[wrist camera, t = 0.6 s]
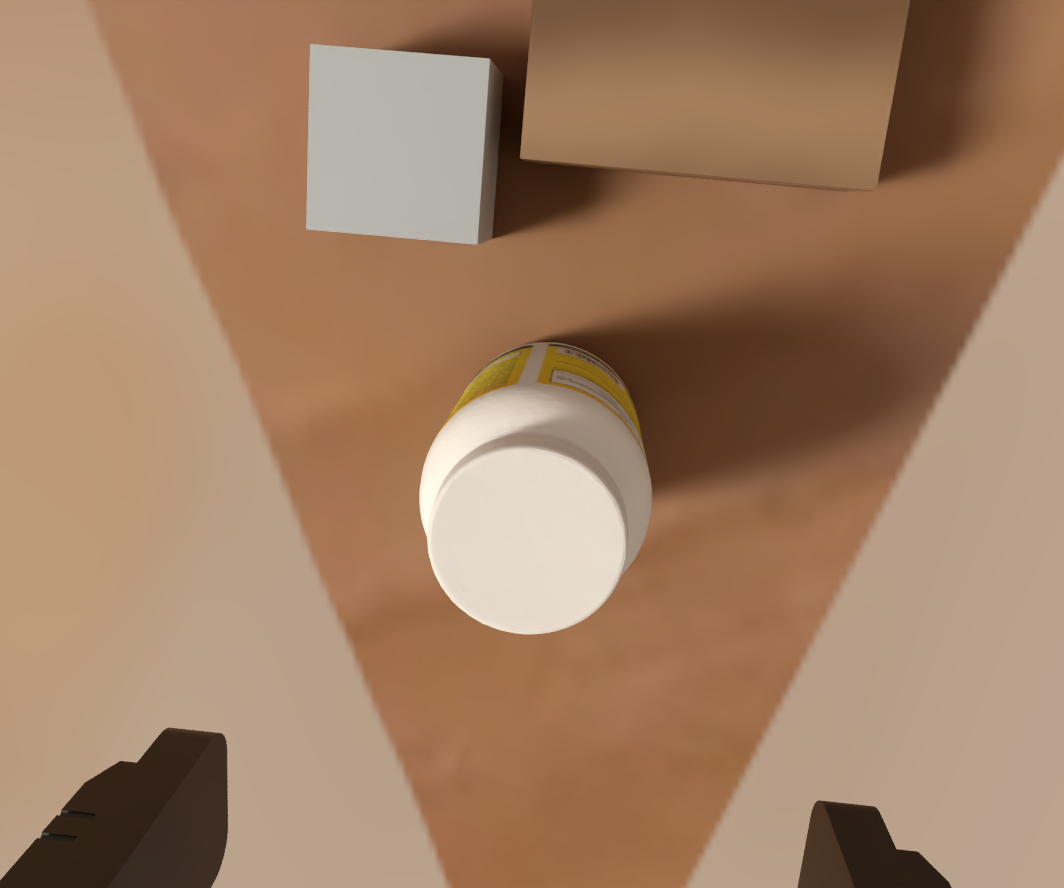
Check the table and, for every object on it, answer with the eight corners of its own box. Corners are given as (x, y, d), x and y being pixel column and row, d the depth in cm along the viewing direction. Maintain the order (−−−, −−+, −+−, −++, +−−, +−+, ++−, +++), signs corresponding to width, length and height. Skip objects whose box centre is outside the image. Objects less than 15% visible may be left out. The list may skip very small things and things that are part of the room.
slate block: (347, 64, 30) (310, 43, 26) (504, 76, 29) (489, 58, 26) (342, 225, 31) (306, 229, 27) (492, 238, 31) (477, 244, 27)
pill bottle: (467, 517, 33) (405, 670, 23) (451, 344, 32) (377, 420, 21) (643, 510, 33) (665, 663, 22) (635, 333, 31) (655, 405, 20)
